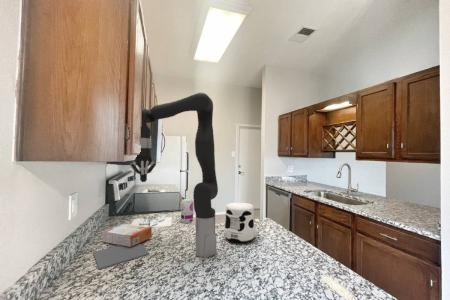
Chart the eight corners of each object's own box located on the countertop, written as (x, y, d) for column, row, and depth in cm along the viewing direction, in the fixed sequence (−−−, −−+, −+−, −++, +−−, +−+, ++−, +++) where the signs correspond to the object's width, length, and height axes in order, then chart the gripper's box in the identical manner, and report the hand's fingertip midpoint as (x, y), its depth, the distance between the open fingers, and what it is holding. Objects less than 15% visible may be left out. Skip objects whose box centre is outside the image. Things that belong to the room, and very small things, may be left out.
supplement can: (195, 220, 143) (195, 198, 144) (190, 224, 135) (190, 201, 136) (184, 219, 146) (184, 198, 146) (178, 223, 138) (179, 200, 138)
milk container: (248, 231, 123) (248, 201, 124) (260, 243, 107) (260, 208, 107) (220, 233, 119) (220, 202, 119) (229, 246, 102) (229, 210, 103)
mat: (149, 254, 94) (149, 253, 94) (99, 269, 82) (99, 268, 82) (137, 241, 108) (137, 240, 108) (93, 253, 96) (93, 251, 96)
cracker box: (152, 238, 112) (125, 233, 120) (152, 226, 112) (125, 222, 121) (130, 248, 99) (102, 242, 108) (130, 235, 99) (102, 230, 108)
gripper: (131, 147, 96) (131, 183, 96) (159, 147, 105) (159, 181, 105) (127, 147, 102) (127, 182, 102) (153, 148, 111) (153, 180, 110)
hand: (143, 181), depth 103 cm, fingers closed
